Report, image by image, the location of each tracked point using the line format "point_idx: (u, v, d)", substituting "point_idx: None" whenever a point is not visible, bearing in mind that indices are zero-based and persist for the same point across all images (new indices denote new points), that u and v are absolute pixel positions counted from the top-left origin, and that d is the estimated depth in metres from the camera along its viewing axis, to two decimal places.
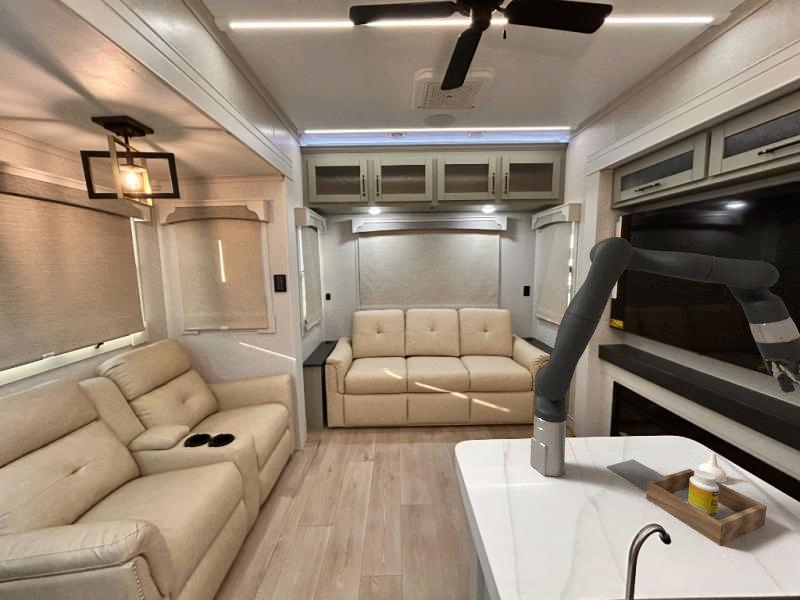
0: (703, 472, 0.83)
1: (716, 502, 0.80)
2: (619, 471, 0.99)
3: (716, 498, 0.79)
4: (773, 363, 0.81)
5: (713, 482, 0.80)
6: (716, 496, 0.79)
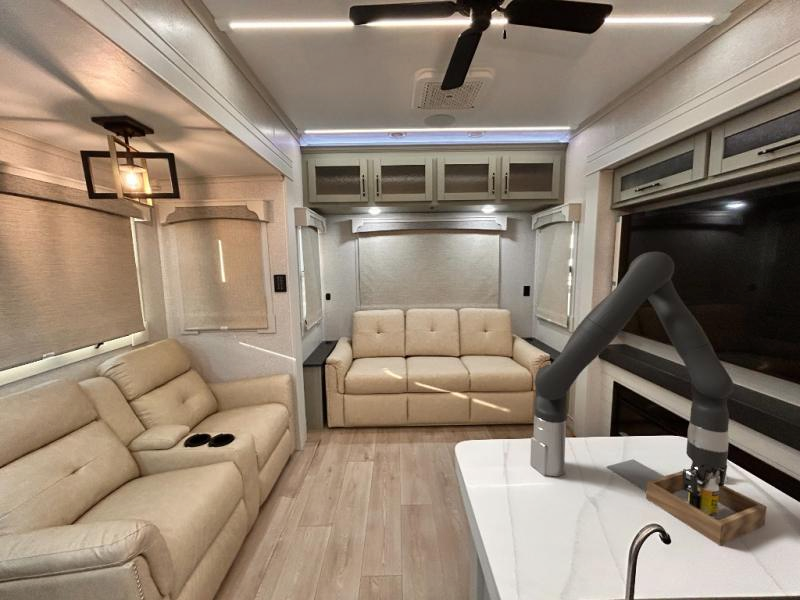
0: None
1: (716, 502, 0.80)
2: (619, 471, 0.99)
3: (716, 498, 0.79)
4: None
5: (713, 482, 0.80)
6: (716, 496, 0.79)
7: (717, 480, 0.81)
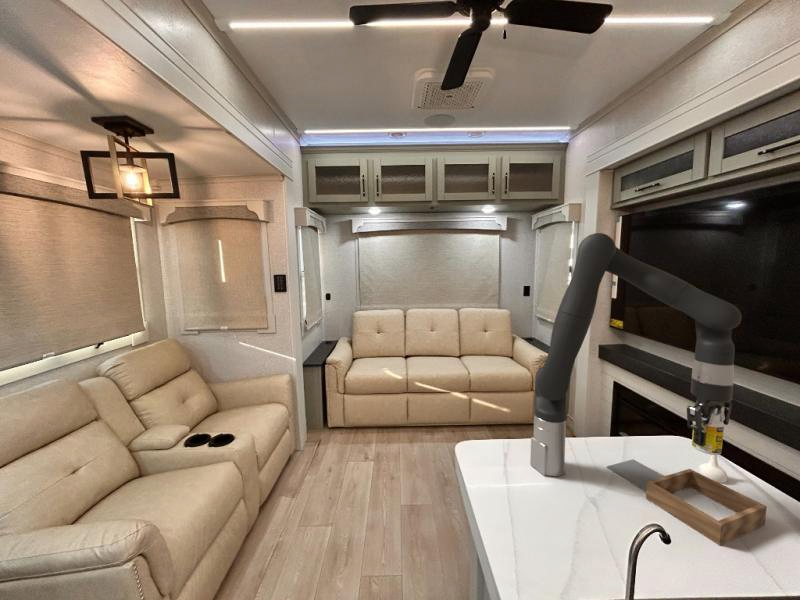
0: None
1: (721, 438, 0.78)
2: (619, 471, 0.99)
3: (721, 434, 0.78)
4: None
5: (718, 418, 0.79)
6: (721, 432, 0.78)
7: (722, 417, 0.79)
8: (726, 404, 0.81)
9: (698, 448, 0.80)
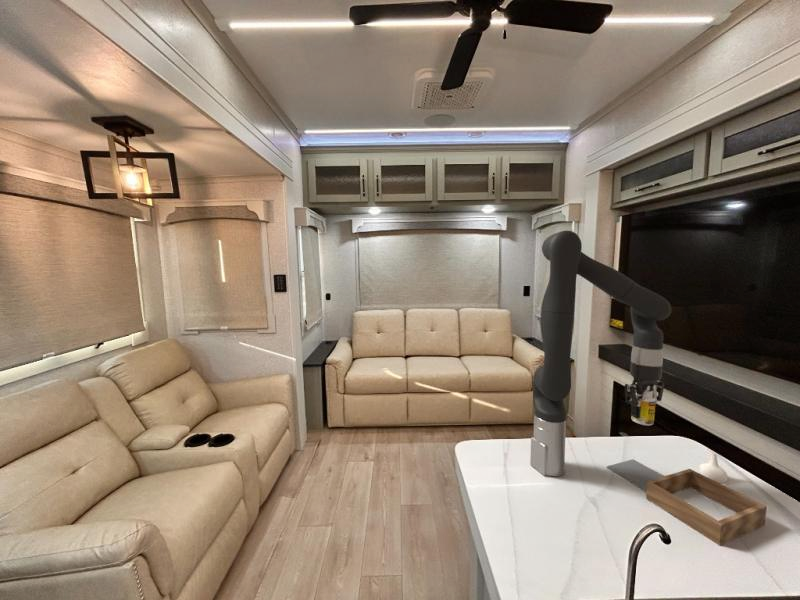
0: None
1: (652, 411, 0.93)
2: (619, 471, 0.99)
3: (652, 408, 0.93)
4: None
5: (650, 394, 0.93)
6: (652, 406, 0.93)
7: (654, 394, 0.94)
8: (659, 383, 0.96)
9: (635, 420, 0.95)
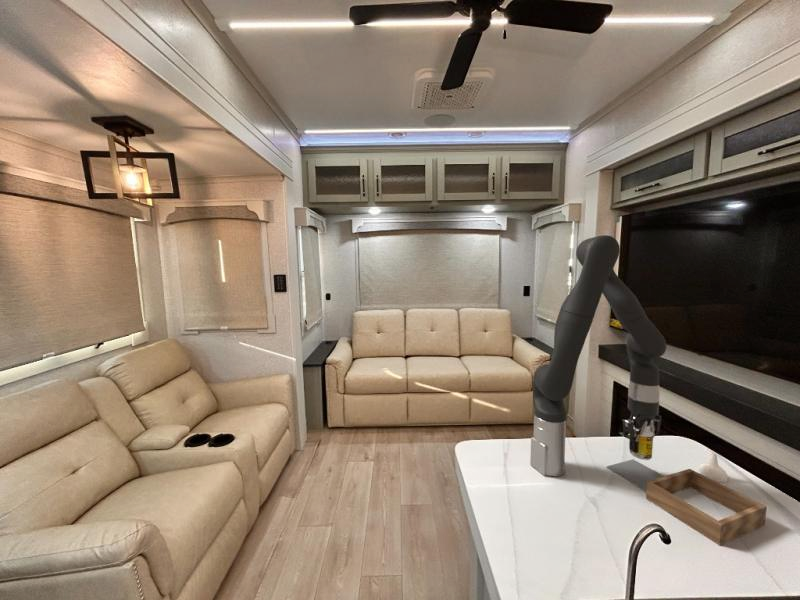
0: None
1: (650, 446, 0.94)
2: (619, 471, 0.99)
3: (650, 442, 0.94)
4: None
5: (648, 429, 0.94)
6: (650, 441, 0.94)
7: (652, 428, 0.95)
8: (657, 417, 0.97)
9: (633, 454, 0.96)
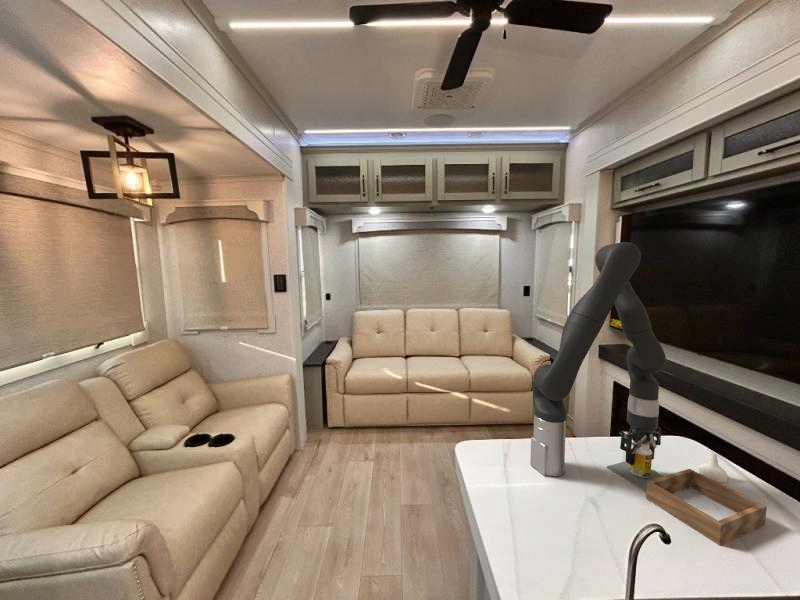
0: None
1: (649, 464, 0.95)
2: (619, 471, 0.99)
3: (649, 461, 0.95)
4: None
5: (647, 448, 0.95)
6: (649, 459, 0.95)
7: (652, 441, 0.96)
8: (656, 428, 0.98)
9: (632, 472, 0.97)
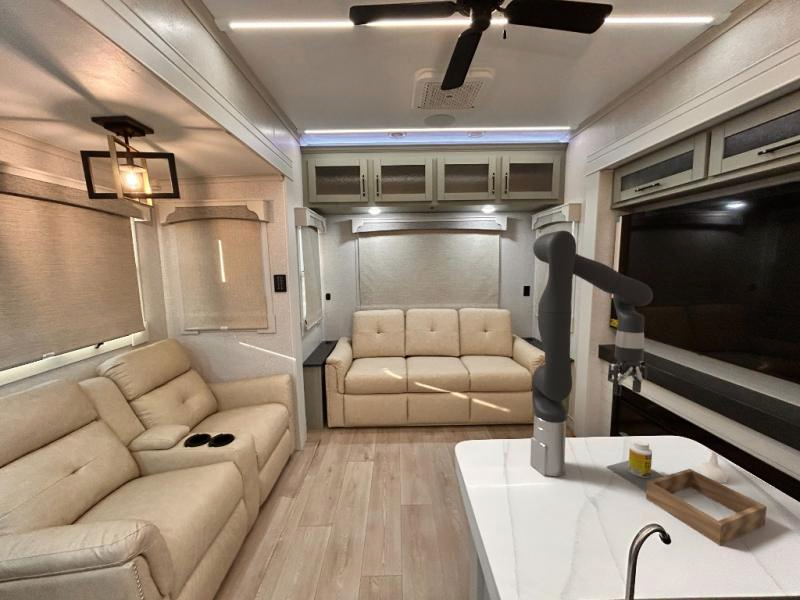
0: (640, 440, 0.98)
1: (649, 464, 0.95)
2: (619, 471, 0.99)
3: (649, 461, 0.95)
4: None
5: (647, 447, 0.95)
6: (649, 459, 0.95)
7: (638, 374, 1.02)
8: (642, 363, 1.03)
9: (632, 472, 0.97)
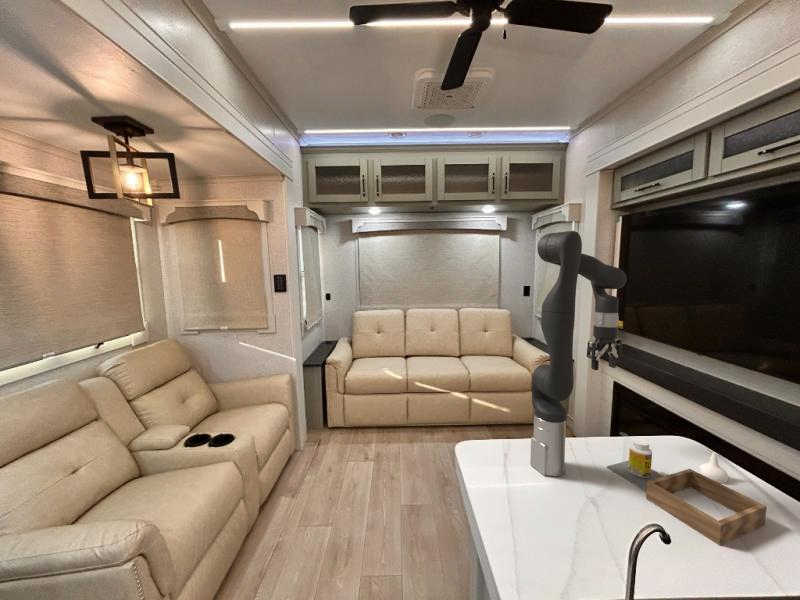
0: (640, 440, 0.98)
1: (649, 464, 0.95)
2: (619, 471, 0.99)
3: (649, 461, 0.95)
4: None
5: (647, 447, 0.95)
6: (649, 459, 0.95)
7: (614, 350, 1.13)
8: (617, 341, 1.15)
9: (632, 472, 0.97)
